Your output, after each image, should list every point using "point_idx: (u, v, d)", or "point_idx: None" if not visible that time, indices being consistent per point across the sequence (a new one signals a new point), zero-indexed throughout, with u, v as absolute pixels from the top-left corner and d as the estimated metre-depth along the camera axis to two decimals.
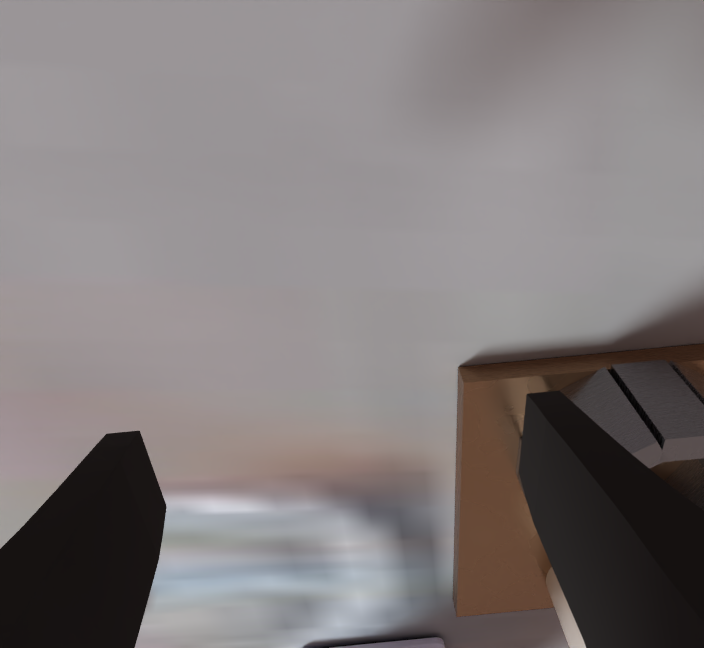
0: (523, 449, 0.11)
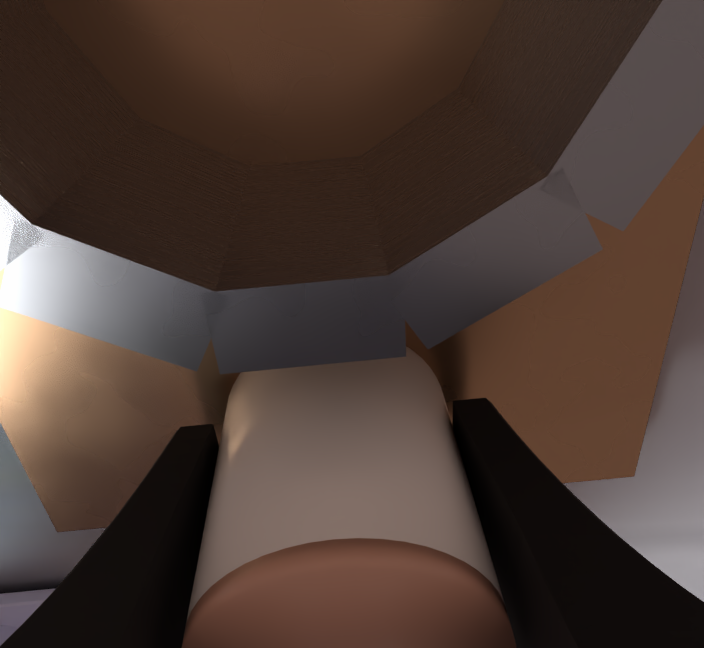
0: None
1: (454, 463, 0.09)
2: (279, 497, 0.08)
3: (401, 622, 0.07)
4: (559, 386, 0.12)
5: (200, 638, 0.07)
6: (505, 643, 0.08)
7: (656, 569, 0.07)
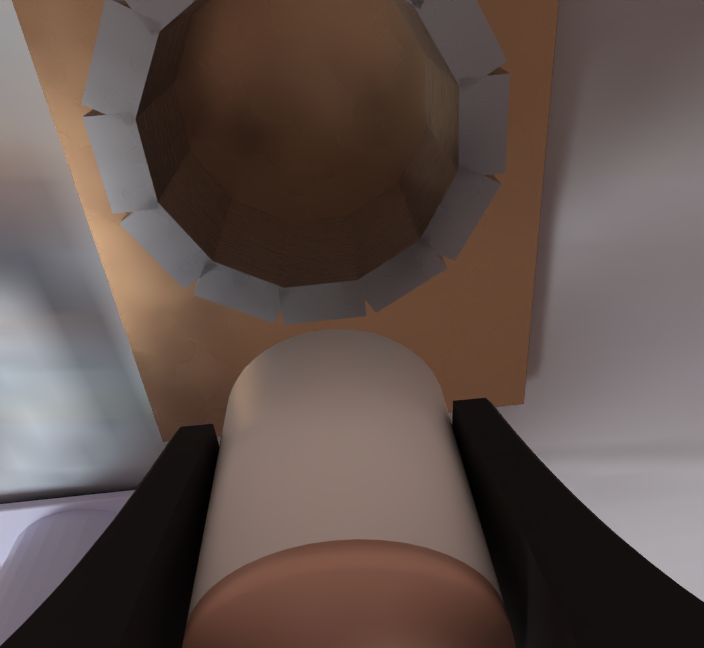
0: None
1: (454, 464, 0.09)
2: (279, 497, 0.08)
3: (401, 623, 0.07)
4: (469, 344, 0.20)
5: (200, 639, 0.07)
6: (505, 644, 0.08)
7: (656, 569, 0.07)
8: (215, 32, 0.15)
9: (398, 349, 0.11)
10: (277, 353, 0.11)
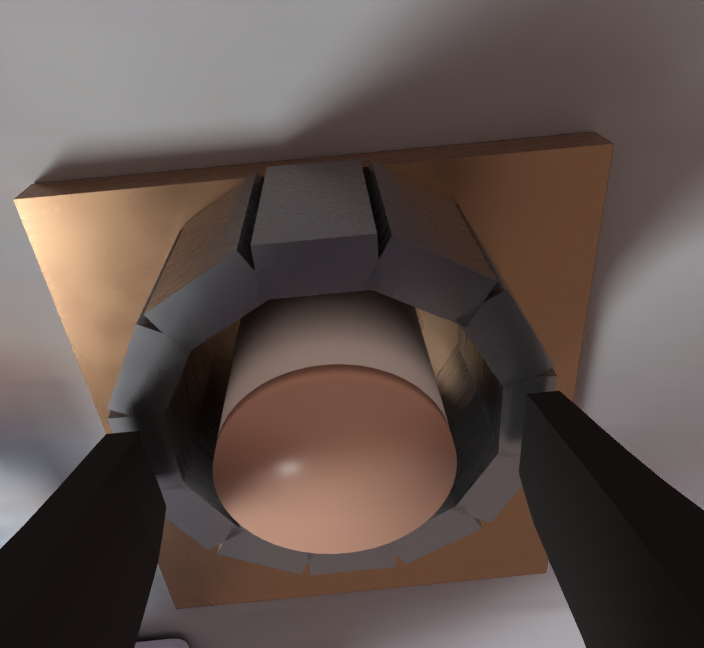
0: (523, 449, 0.11)
1: (416, 338, 0.12)
2: (285, 346, 0.11)
3: (372, 428, 0.10)
4: (493, 525, 0.19)
5: (229, 438, 0.10)
6: (448, 451, 0.11)
7: None
8: None
9: None
10: None
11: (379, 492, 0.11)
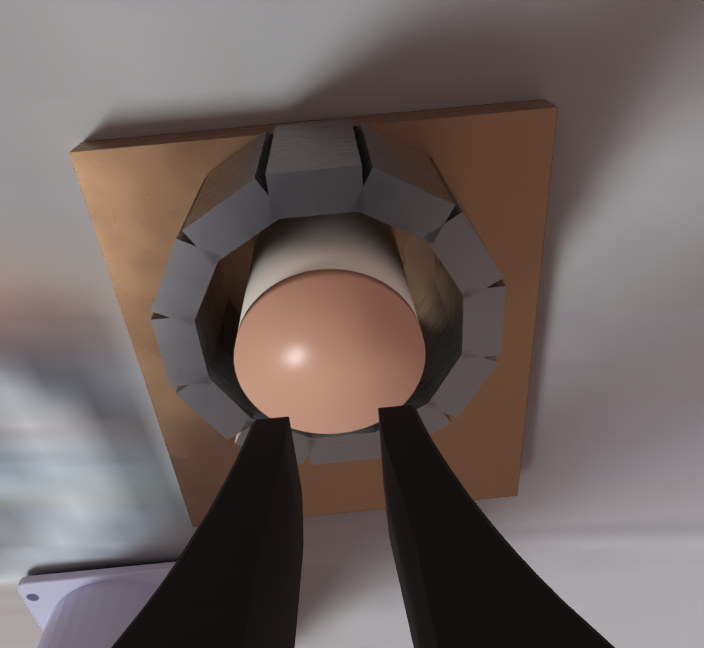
0: None
1: (396, 262, 0.15)
2: (290, 260, 0.14)
3: (358, 321, 0.13)
4: (469, 448, 0.22)
5: (247, 328, 0.13)
6: (418, 341, 0.14)
7: (538, 580, 0.07)
8: None
9: None
10: None
11: (364, 377, 0.14)
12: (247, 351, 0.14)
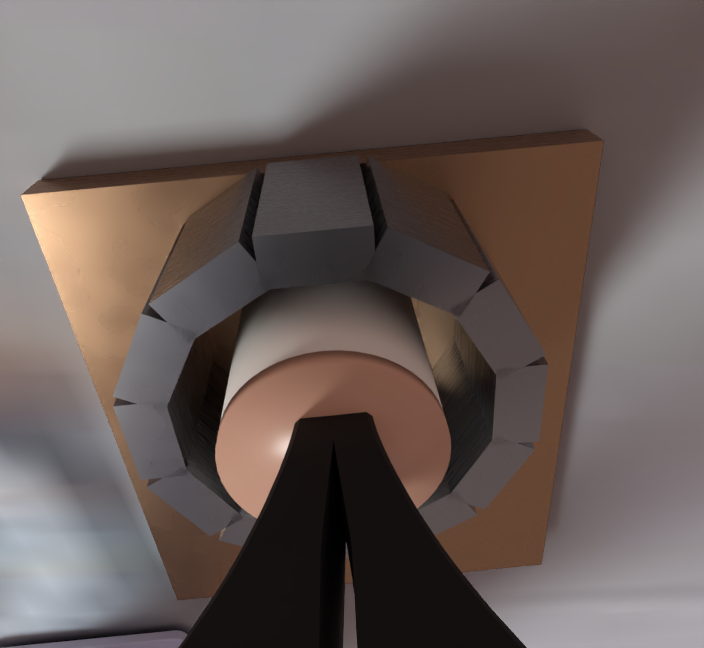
0: None
1: (412, 328, 0.13)
2: (285, 334, 0.11)
3: (369, 412, 0.11)
4: (489, 516, 0.20)
5: (231, 422, 0.11)
6: (442, 434, 0.11)
7: (466, 587, 0.07)
8: None
9: None
10: None
11: None
12: (232, 448, 0.11)
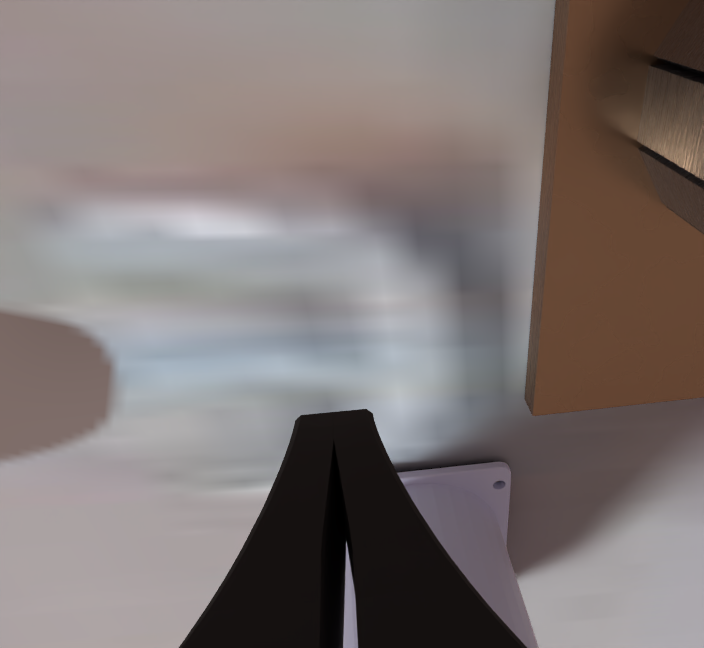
0: None
1: None
2: None
3: None
4: None
5: None
6: None
7: (467, 587, 0.07)
8: None
9: None
10: None
11: None
12: None
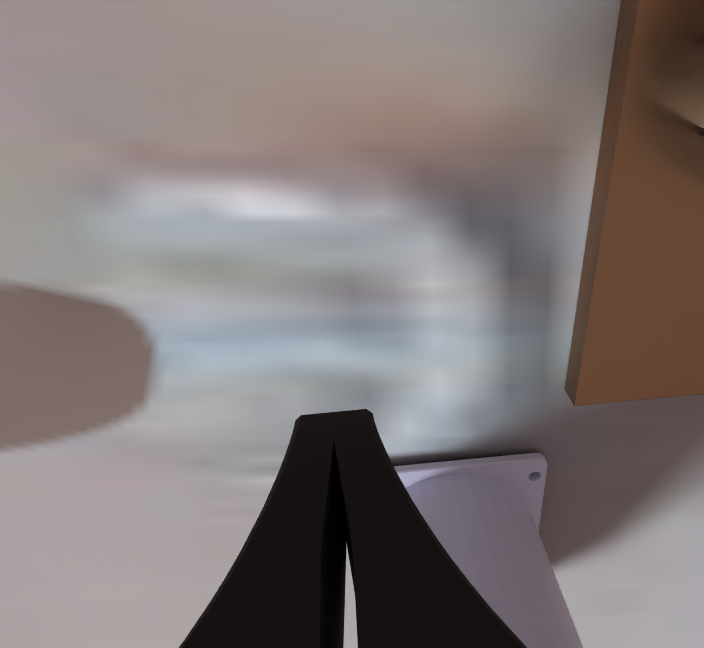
0: None
1: None
2: None
3: None
4: None
5: None
6: None
7: (467, 588, 0.07)
8: None
9: None
10: None
11: None
12: None
